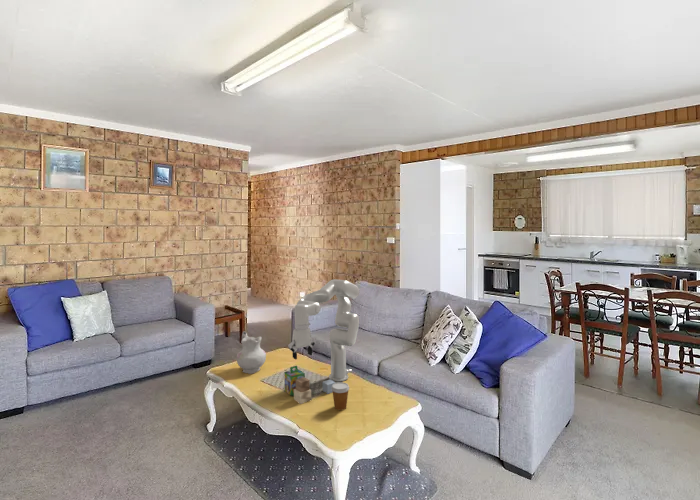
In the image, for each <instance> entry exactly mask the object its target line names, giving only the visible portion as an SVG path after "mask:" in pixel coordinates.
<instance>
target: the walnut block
mask: <svg viewBox="0 0 700 500" xmlns="http://www.w3.org/2000/svg"><path fill="white" fill-rule="evenodd" d="M296 390H298V391H299V392H304V391H307V390H311V388H310V379H308V378H306V376H305V377H303V378H300V379H296Z"/></svg>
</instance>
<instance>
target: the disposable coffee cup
mask: <svg viewBox="0 0 700 500" xmlns="http://www.w3.org/2000/svg"><path fill="white" fill-rule="evenodd" d="M331 389H332V391H333V392H332V398H333V405H334V406H333V407H334V409H335V410H337V411H345V410H346V409H347V406H348V396H349V390H350V386H349V384H348V383H347V382H344V381H337V382H335V383H334V384H333V385H332V388H331Z"/></svg>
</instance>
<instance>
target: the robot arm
mask: <svg viewBox="0 0 700 500" xmlns="http://www.w3.org/2000/svg"><path fill="white" fill-rule="evenodd" d="M359 295H360V289H359V286H358V285H356V284H354V283H353V282H351V281H349V280H346V279H345V280H344V279H331V280H329V281H327V283H325V285H323V286H322V287H321V288H320V289H318V290H315V291H312V292H309V293H308V294H305V295H304V296H303V297H301V298H300V299H299V300H298V301H297V303H296V304H295V306H294V329H293V331H292V339H291V340H292V341H291V342H290V343H288V345H287V347H288V349H289V350H290V351H291V352H292V358H293V359H294V360H297V359H298V349H301V348H305V347H306V348H307V354H308V355H310V356H313V348H314V346H315V343H316V341H317V339H316V338H314V337H312V333H311V329H310V326H311V322H309V321H310V320H309V317H311V316H316V315H319V313H320V311H321V304H324V303H326V302H329V301H330V300H331V299H332V298H333V297H334V296H335V297H336V299H337V309H336V314H335V318H334V323H335V326H337V327H339V328H332V329H331V330H330V331H329V332H328V333H329V334H328V339H329V344H330V373H329V374H328V380H332V381H334V382H345V381H347V380H348V379H349V373H352V371H353V370H352V369H351V368H350V369H348V368H347V351H346V350H347V349H346V347H353V346H354V345H355V343H356V341H357V337H358V333H359V327H360V317H359V315H358V314H356V313H352V312H351V310H352V303H351V301H350V299H356V298H358V296H359ZM343 328H346V329H343Z"/></svg>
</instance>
